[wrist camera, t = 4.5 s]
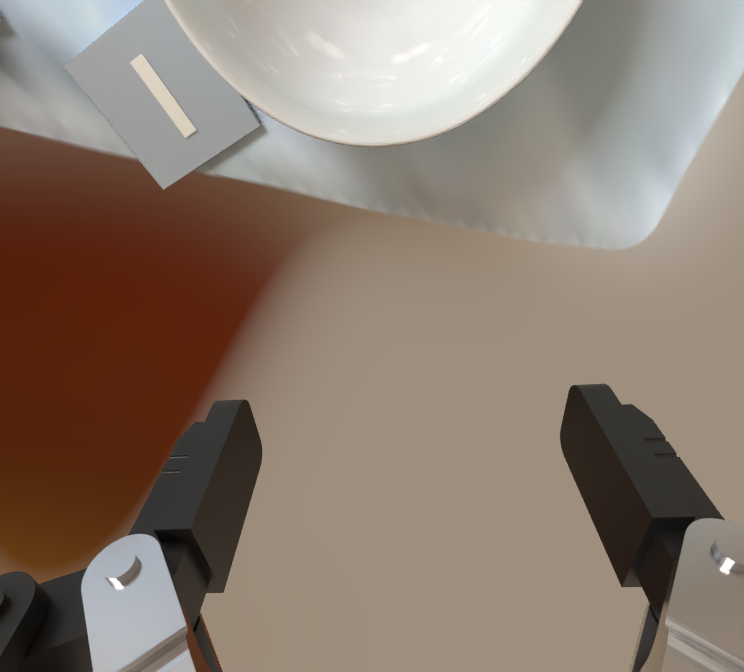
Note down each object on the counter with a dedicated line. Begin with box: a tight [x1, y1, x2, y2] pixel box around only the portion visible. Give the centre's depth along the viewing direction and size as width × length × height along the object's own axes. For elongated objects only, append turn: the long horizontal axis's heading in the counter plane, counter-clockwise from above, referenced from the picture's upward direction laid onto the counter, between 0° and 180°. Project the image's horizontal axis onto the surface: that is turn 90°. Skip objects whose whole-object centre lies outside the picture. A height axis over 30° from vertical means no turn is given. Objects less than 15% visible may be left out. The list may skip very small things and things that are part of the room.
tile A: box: [64, 0, 261, 189], centre depth 23 cm, size 7×7×1 cm
